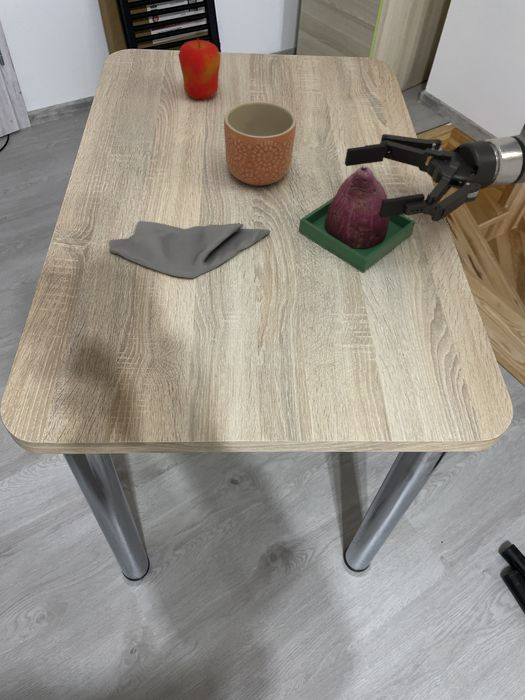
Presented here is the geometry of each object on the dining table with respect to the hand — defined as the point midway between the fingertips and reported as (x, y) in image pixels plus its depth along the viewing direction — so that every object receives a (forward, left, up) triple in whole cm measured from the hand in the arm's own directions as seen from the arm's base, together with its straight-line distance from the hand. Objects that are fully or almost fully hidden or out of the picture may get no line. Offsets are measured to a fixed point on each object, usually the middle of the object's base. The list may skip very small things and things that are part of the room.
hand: (363, 182), depth 83 cm
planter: (+23, -1, -10) cm, 25 cm away
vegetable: (0, -1, -10) cm, 10 cm away
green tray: (0, -1, -10) cm, 10 cm away
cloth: (+16, +22, -10) cm, 29 cm away
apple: (+52, -13, -10) cm, 54 cm away
